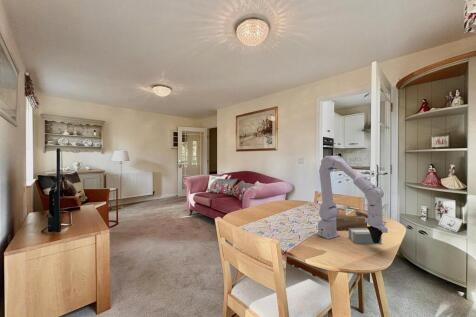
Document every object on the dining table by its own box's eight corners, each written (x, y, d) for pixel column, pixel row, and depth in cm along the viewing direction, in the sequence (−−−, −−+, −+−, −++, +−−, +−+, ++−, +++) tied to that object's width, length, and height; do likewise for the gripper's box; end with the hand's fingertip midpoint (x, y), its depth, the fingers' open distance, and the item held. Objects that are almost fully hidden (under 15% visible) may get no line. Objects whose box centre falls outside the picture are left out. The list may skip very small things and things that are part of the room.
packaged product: (352, 210, 148) (364, 209, 150) (352, 217, 148) (365, 215, 150) (373, 217, 130) (386, 216, 132) (373, 225, 130) (387, 223, 132)
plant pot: (341, 222, 137) (341, 211, 137) (332, 219, 143) (332, 208, 143) (348, 220, 140) (348, 209, 140) (339, 217, 146) (339, 207, 146)
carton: (381, 244, 103) (381, 233, 103) (356, 244, 104) (355, 233, 104) (372, 237, 111) (372, 228, 111) (348, 237, 112) (348, 228, 112)
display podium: (367, 230, 121) (367, 218, 121) (335, 230, 122) (335, 218, 122) (362, 227, 126) (362, 215, 126) (332, 227, 128) (331, 216, 127)
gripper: (394, 218, 90) (395, 249, 90) (374, 209, 104) (375, 236, 104) (377, 218, 90) (378, 249, 90) (360, 209, 105) (361, 236, 105)
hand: (376, 242), depth 97 cm, fingers closed
